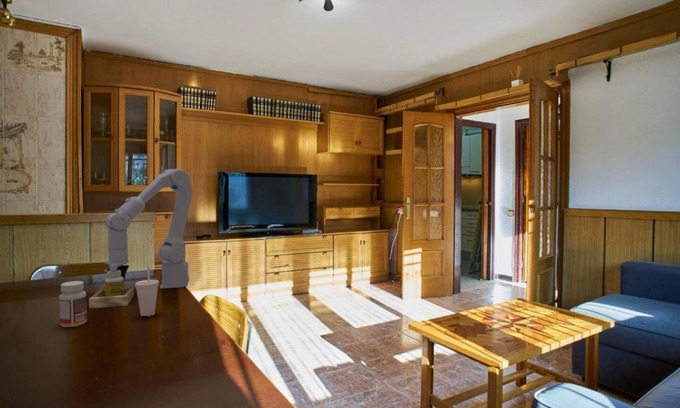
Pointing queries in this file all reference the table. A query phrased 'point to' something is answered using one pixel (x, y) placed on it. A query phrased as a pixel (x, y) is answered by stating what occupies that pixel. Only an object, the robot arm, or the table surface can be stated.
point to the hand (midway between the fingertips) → (119, 287)
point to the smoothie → (147, 295)
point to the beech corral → (110, 299)
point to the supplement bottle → (114, 284)
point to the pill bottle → (72, 304)
